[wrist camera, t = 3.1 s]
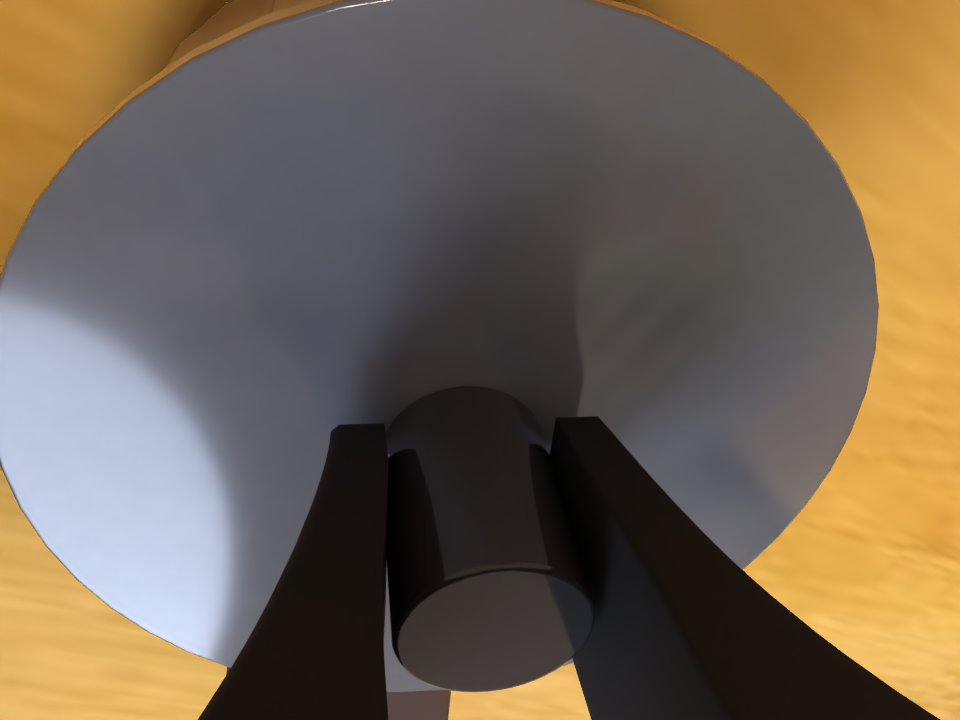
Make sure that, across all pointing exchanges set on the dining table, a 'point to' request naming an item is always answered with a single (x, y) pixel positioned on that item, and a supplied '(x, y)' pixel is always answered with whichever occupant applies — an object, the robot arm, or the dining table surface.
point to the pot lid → (427, 315)
